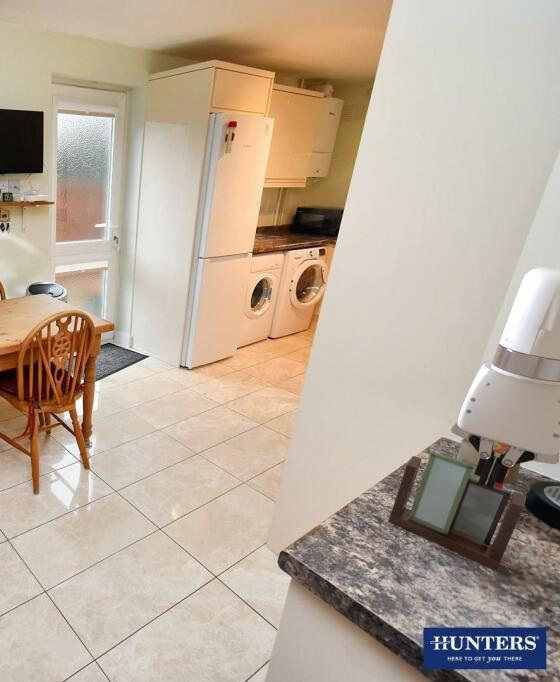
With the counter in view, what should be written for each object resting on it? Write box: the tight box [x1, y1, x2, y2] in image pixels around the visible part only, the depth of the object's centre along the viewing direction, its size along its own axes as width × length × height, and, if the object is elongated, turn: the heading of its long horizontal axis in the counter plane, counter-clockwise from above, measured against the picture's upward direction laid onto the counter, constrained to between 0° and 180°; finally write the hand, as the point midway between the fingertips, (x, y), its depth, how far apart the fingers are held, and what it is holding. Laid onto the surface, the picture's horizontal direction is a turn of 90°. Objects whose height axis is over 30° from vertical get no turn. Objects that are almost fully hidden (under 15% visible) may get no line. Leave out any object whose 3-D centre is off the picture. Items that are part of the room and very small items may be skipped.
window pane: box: [409, 450, 473, 535], centre depth 68 cm, size 5×1×12 cm, turn 41°
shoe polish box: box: [454, 438, 510, 484], centre depth 76 cm, size 5×5×12 cm
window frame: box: [388, 455, 527, 571], centre depth 68 cm, size 13×4×11 cm, turn 41°
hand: (486, 482), depth 64 cm, fingers closed
